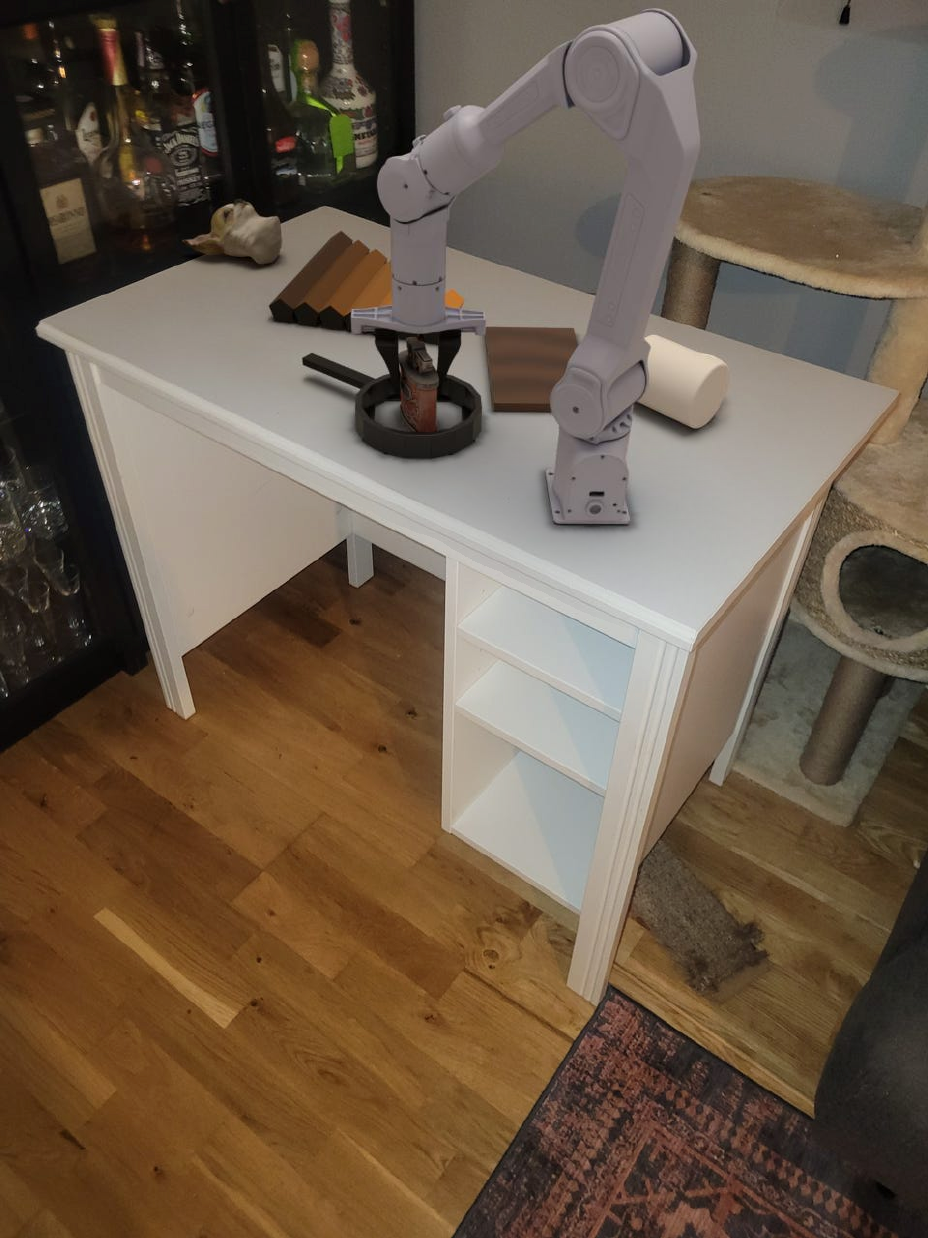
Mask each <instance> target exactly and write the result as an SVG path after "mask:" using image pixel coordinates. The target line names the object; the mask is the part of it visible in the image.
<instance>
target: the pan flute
mask: <svg viewBox="0 0 928 1238" xmlns="http://www.w3.org/2000/svg"><path fill="white" fill-rule="evenodd" d="M353 241H354V242H353ZM464 303H465V298H464V297H463V296H461V294H459V293H458V292H457V291H456V290H455V289H454V288H451V289H449V290H448V291H445V306H449V307H454V308H460V309H463V304H464ZM389 305H392V278H391V259H390V260H389V261H388V257H386V256H385V255H384V254H383V253H381V252H380V250H378V249H377V248H375V249H373V250H372V251H371V249H370V248H369V247H368V246H367V245H365V244H364V243H363V242H362V241H361V240H360V239H356V241H355V240H354V239H352V238H351V237H349V236H348V235H347V234H346V233H345V232H344V231H342V230H340V231H338V232H337V233H336V234H334V235H333V236H330V238H328V240H327V241H326V243H324V244H323V246H322V247H321V248H319V250H318V251H317V252H316V253H315V254H314V255H313V256H312V257H311V259H310V260H309V261H308V262H307V263H306V264H305V265H304V266H303V268H302V269H301V270H300V271H299V272H298V273H297V274H296V275H295V276H294V277H293V278H292V279H291V280H290V282H289V283H287V285H286V286H285V287H284V288H283V289H282V291H280V293H278V294H277V296H276V297H275V298H274V299H273V300H272V301H271V302H270V303H269V305H268V307H269V310H270V313H271V315H272V317H273V321H275V322H280V323H285V324H291V323H292V322H293V320H294V319H295V318H296V320H297V322H298V325H300V326H308V327H316V326H317V325H318V323H320V321H321V324H322V326H323V328H324V329H328V330H335V331H340V330H342V328H343V327H344V326H345V324H346V327H347V330H348V332H350V333H352V331H351V311H352V309H367V308H375V307H382V306H389ZM372 332H373V335H374V336H375V331H372ZM366 333H367V331H362V333H361V334H362V335H365V334H366ZM420 336H421V334H416V333H408V332H398V339H399V340H405V341H406V339H407V338H409V337H415V338H417V339H419V337H420ZM422 336H423V340H424V343H425V344H432V345H438V332H431V333H423V334H422Z"/></svg>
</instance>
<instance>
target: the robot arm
mask: <svg viewBox="0 0 928 1238" xmlns="http://www.w3.org/2000/svg"><path fill="white" fill-rule="evenodd" d="M697 60H698V52H697V51H696V49H695V47H694V46H693V44H692V42H691V40H690V38H689V36H688V35H687V33H686V31H685V30H684V28H683V26H682V24H681V23H680V21H679V20H678V19H677V18H676V17H675V16H674V15H673V14H671V13H670V12H668V11H666V10H664V9H662V8H655V7H654V8H653V7H651V8H647V9H644V10H641V11H638V12H637V13H635V14H634V15H632V16H628V17H626V18H622V19H619V20H615V21H613V22H610V23H607V24H603V23H602V24H598V25H593V26H590V27H588V28H586V29H584V30H583V31H581V32H580V33H579V34H578V35H577V36H576V38H574V39H571V40H568V41H566V42H564V43H562V44H560V45H558V46H556V47H555V48H554V49H552V51H550V52H549V53H548V54H546V56H544V57H543V58H542V59H541V60H540V61H538V62H537V63H536V64H534V66H533V67H532V68H530V69H529V70H528V71H527V72H526V73H525V74H524V75H522V76H521V77H520V78H519V79H518V80H516V81H515V82H514V83H513V84H512V85H511V86H509V88H507V90H505V91H504V92H503V93H502V94H500V96H498V97H497V98H496V99H495V100H493V102H491V103H490V104H489V105H488V106H486V108H484V107H481V106H478V105H473V104H470V105H469V104H468V105H464V106H463V107H462V105H460V104H457V105H456V106H453V107H450V108H449V109H448V110H447V111H445V112H443V114H442V117H443V119H444V122H443V123H442V124H440V126H438V127H437V128H436V129H434V130H433V131H432V132H431V133H429V134H428V135H426V134H422V135H420V136H417V137H416V138H415V139H414V140H413V141H412V146H413V147H412V149H411V151H410V152H408V153H406V154H403V155H397V156H392V157H391V156H390V157H389V158H387V159H386V161H385V162H384V164H383V165H382V166H381V168H380V170H379V172H378V175H377V179H376V189H377V195H378V198H379V201H380V203H381V205H382V208H383V209H384V210H385V211H386V212H387V214H388V215H389V218H390V219H389V227H390V228H389V230H390V231H389V233H390V260H391V278H392V305H389V306H382V307H375V308H367V309H352V311H351V331H352V332H351V334H354V335H361V334H362V331H366V332H373V331H375V335H374V345H375V348H376V350H377V352H378V353H379V355H380V356H381V359H382V360H383V362H384V364H385V366H386V368H387V371H388V374H390V376H391V380H392V383H393V388H394V394H400V392H401V375H400V372H401V368H400V364H399V353H400V352H399V349H400V348H399V345H400V344H399V335H398V332H408V333H416V334H420V335H423V333H431V332H438V344H437V364H436V371H437V374H438V377H439V385H438V386H437V395H442V391H443V386H444V382H445V378H446V376H447V374H448V373H449V371H450V368H451V365H452V364H453V362H454V360H455V358H456V356H458V353H459V352H460V349H461V348H462V333H463V334H464V333H470V334H471V333H473V334H474V335H475V336H479V337H480V336H484V337H486V336H485V331H486V327H487V326H486V325H487V317H486V311H485V310H472V309H467V308H465V309H464V308H461V309H460V308H454V307H449V306H445V293H446V287H447V286H446V282H447V281H446V278H447V272H446V269H447V267H446V266H447V233H448V232H447V230H448V229H447V228H448V227H447V226H448V221H450V220H451V219H450V215H451V214H450V213H451V207H452V205H453V204H454V202H455V201H456V200H457V199H458V196H459V194H460V193H462V192H463V191H464V190H465V189H467V188H468V187H469V186H471V185H472V184H474V183H475V182H477V181H478V180H480V179H481V178H482V177H484V176H485V175H487V174H489V172H491V171H493V170H494V169H495V168H497V167H498V166H499V165H500V164H501V163H502V161H503V158H504V155H505V147H506V142H507V141H509V140H510V139H512V138H514V137H515V136H516V135H519V134H520V133H521V132H522V131H524V130H525V129H527V128H529V127H530V126H531V125H533V124H534V123H536V122H537V121H539V120H540V119H542V118H543V117H545V116H546V115H548V114H550V113H551V112H552V111H554V110H556V109H557V108H561V109H563V110H567V111H568V110H571V109H573V108H575V107H576V108H577V109H578V110H579V112H581V113H582V114H583V116H584V117H585V118H587V119H588V120H589V121H590V122H591V123H592V124H593V125H594V126H595V127H596V128H597V129H598V130H599V131H600V132H601V133H602V134H603V135H605V137H607V138H608V139H609V140H610V141H611V143H612V144H613V145H615V146H616V147H617V148H618V149H619V150H620V152H621V154H622V156H623V157H624V158H625V161H626V162H627V171H626V174H625V178H624V182H623V186H622V190H621V193H620V198H619V201H618V206H617V209H616V214H615V217H614V221H613V226H612V229H611V233H610V236H609V240H608V245H607V249H606V252H605V253H606V254H605V257H604V261H603V265H602V269H601V273H600V277H599V281H598V283H597V288H596V293H595V297H594V299H593V300H594V301H593V305H592V308H591V312H590V316H589V320H588V324H587V328H586V332H585V334H584V336H583V338H582V339H581V340H580V342H579V343H578V347H577V349H576V350H575V352H574V353H573V355H572V356H571V358H570V360H569V361H568V364H567V368H566V372H565V374H564V376H563V377H562V379H561V380H560V381H559V382H558V383H557V384H556V385H555V386H554V388H553V390H552V392H551V396H550V407H551V411H552V412H551V414H552V417H553V418H554V420H555V423H556V424H557V425H558V437H557V446H556V454H555V462H554V468H548V469H546V470H545V479H546V484H547V490H548V496H549V503H550V508H551V509H550V510H551V515H552V520H553V522H554V523H556V524H561V525H562V524H564V525H565V524H566V525H567V524H568V525H569V524H571V525H574V524H575V525H628V524H630V522H631V516H630V513H629V509H628V505H627V501H626V493H627V488H628V482H629V476H630V475H629V465H628V462H627V453H628V448H629V441H630V438H631V437H630V436H631V430H632V425H633V411H634V405H635V403H637V402H636V401H638V400H639V399H641V398H642V397H643V396H644V394H645V393H646V391H647V389H648V386H649V371H648V363H647V362H648V355H649V352H650V349H651V346H650V345H649V343H648V342H647V341H646V340H645V339H644V338H645V337H644V336H645V333H646V329H647V328H648V327H647V326H648V323H649V320H650V317H651V313H652V310H653V307H654V304H655V300H656V297H657V293H658V290H659V287H660V285H661V281H662V278H663V274H664V271H665V267H666V263H667V260H668V257H669V254H670V251H671V248H672V244H673V241H674V237H675V235H676V231H677V228H678V224H679V221H680V218H681V214H682V210H683V208H684V205H685V202H686V197H687V194H688V192H689V188H690V185H691V182H692V178H693V175H694V172H695V168H696V165H697V162H698V160H699V159H698V158H699V155H700V149H701V133H700V126H699V118H698V117H699V116H698V109H697V101H696V92H695V85H694V74H695V70H696V64H697Z"/></svg>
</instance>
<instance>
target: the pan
mask: <svg viewBox="0 0 928 1238" xmlns="http://www.w3.org/2000/svg"><path fill="white" fill-rule="evenodd" d="M301 362H302V366H304V367H307V368H309V369H311V370H314V371H316V372H318V373H321V374H322V375H325V376H328V377H330V378H332V379H335V380H338V381H340V382H342V383H345V384H347V385H349V386H351V387H354V388H356V389H359V391H357V393H356V394H355V400H354V401H355V402H354V416H355V417H354V420H355V421H354V422H355V431H356V432H357V434H358V435H359V436H360V438H361V442H364V443H365V444H366V445H369V446H370V447H372V448H374V449H375V450H377V451H378V452H381V453H383V455H391V456H395V457H400V458H404V459H434V458H438V457H444V456H447V455H448V456H452V455H454V454H456V453H458V452H459V451H461V450H463V449H465V448H466V447H469V446H471V445H472V444H473V443H476V439H477V437H478V436H479V434H480V433H481V432H482V420H483V404H482V396H481V394H480V393H479V391H477V389H476V388H474V386H473V385H472V384H471V383H468V382H467V381H465V380H463V379H461V378H459V377H457V376H455V375H452V374H448V373H447V376H446V378H445V382H444V386H443V391H442V395H437V402H451V403H453V404H455V405H458V406H459V407H461V420H462V421H460V422H459V423H457V424H455V425H453V426H451V427H446V428H442V429H438V430H437V431H433V432H409V431H406V430H402V429H397V428H392V427H388V426H385V425H383V424H382V423H379V422H377V421H376V420H375V419H376V406H378V405H380V404H382V403H384V402H401V392H400V394H394V388H393V383H392V380H391V376H390V374H389V373H386V374H383V375H381V376H379V377H376V378H375V377H373V376H370V375H368V374H366V373H363V372H360V371H358V370H356V369H353V368H350V367H348V366H347V365H346V366H345V365H343V364H340V363H338V362H336V361H334V360H332V359H328V358H327V357H324V356H321V355H319V354H316V353H314V352H311V353H308V354H306V355H305V356H302V357H301ZM400 375H401V371H400Z"/></svg>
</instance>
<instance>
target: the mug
mask: <svg viewBox="0 0 928 1238" xmlns="http://www.w3.org/2000/svg"><path fill="white" fill-rule="evenodd" d="M643 338H644V339H645V340H646V341H647V342H648V343H649V345H650V346H651V349H650V352H649V355H648V362H647V363H648V371H649V386H648V389H647V391H646V393H645V394H644V396H643V397H642V398H641V399H639V400H638V401H636V402H635V403H639V404H641V405H642V406H645V407H647V408H649V409H652V410H654V411H656V412H658V413H660V414H662V415H664V416H666V417H668V418H671V419H672V420H675V421H678V422H679V423H681V424H683V425H685V426H687V427H690V428H692V429H700V428H702V427H704V426H705V425H707V423H709V422H710V421H711V420H712V419H713V417H715V415H716V413H717V412H718V410H719V408H720V407H721V405H722V404H723V402H724V399H725V397H726V394H727V392H728V389H729V385H730V378H731V377H730V376H731V375H730V369H729V366H728V365H727V364H726V363H725V361H724V360H722V359H721V358H719V357H718V356H715V355H712V354H709V353H703V352H698V351H696V350H693V349H691V348H689V347H687V346H684V345H682V344H679V343H676V342H674V341H672V340H670V339H667V338H665V337H663V336H660V335H658V334H649V335H647V336H646V337H643Z"/></svg>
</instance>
